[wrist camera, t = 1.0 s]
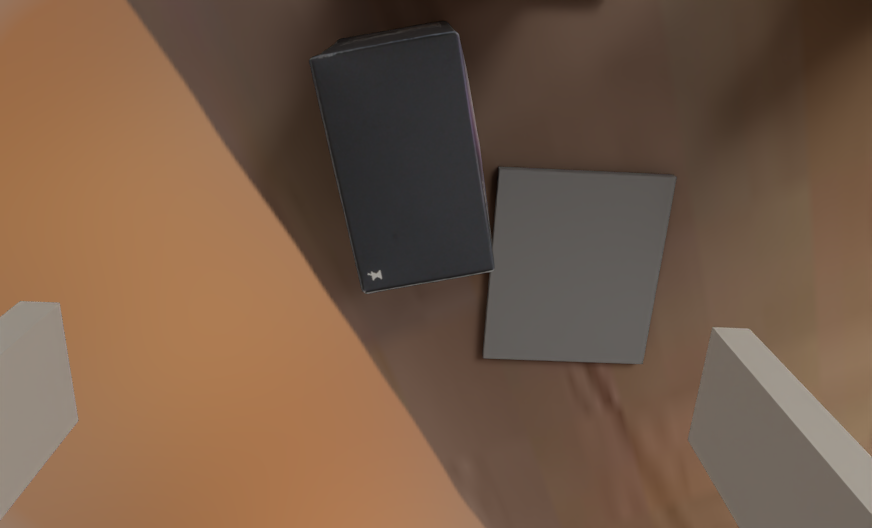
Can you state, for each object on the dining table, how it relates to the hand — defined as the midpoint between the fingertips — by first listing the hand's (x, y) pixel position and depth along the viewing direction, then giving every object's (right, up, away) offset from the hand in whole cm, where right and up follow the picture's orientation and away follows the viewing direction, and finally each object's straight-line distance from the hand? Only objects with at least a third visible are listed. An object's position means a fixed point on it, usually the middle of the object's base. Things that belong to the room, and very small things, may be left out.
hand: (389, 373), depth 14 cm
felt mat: (+9, +2, +28) cm, 29 cm away
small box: (0, +10, +25) cm, 27 cm away
